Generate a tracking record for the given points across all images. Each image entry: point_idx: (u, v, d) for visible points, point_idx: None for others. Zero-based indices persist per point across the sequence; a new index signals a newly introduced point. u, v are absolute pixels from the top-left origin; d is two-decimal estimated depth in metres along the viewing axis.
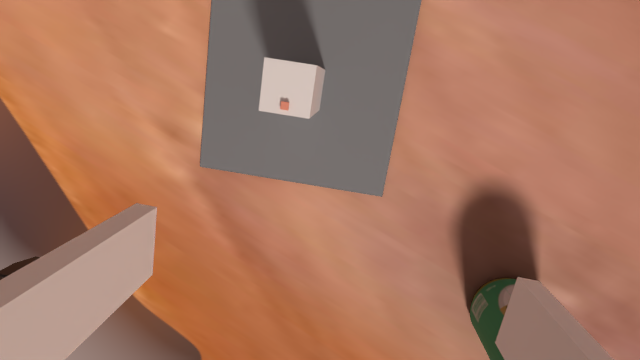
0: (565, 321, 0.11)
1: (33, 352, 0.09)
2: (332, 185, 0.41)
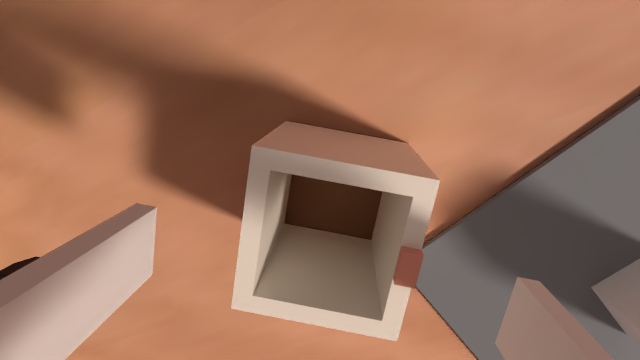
0: (565, 321, 0.11)
1: (33, 352, 0.09)
2: None
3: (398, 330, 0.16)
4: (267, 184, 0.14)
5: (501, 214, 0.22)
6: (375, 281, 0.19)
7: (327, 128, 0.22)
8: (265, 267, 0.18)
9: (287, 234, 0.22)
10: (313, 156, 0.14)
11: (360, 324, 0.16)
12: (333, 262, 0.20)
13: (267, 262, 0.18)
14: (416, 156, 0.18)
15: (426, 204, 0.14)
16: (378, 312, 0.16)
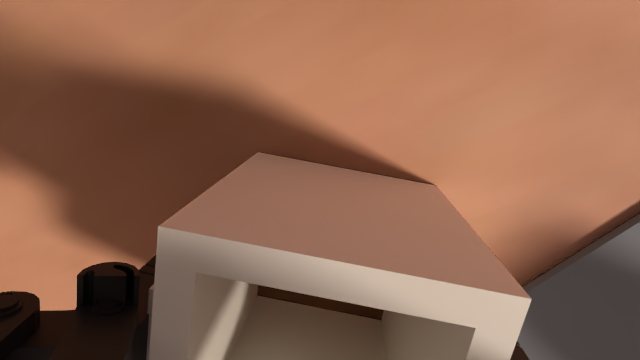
0: None
1: None
2: None
3: None
4: (192, 297, 0.08)
5: (573, 290, 0.15)
6: None
7: (317, 163, 0.15)
8: None
9: (259, 318, 0.15)
10: (279, 247, 0.07)
11: None
12: None
13: None
14: (459, 219, 0.11)
15: (501, 342, 0.07)
16: None
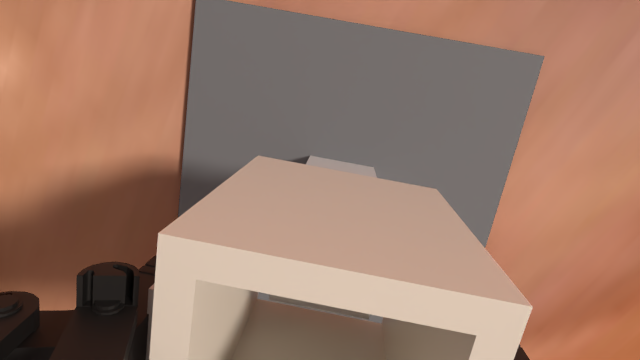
0: None
1: None
2: (509, 149, 0.23)
3: None
4: (192, 304, 0.07)
5: None
6: None
7: (318, 167, 0.15)
8: None
9: (259, 321, 0.15)
10: (279, 254, 0.07)
11: None
12: None
13: None
14: (460, 223, 0.11)
15: (502, 349, 0.07)
16: None
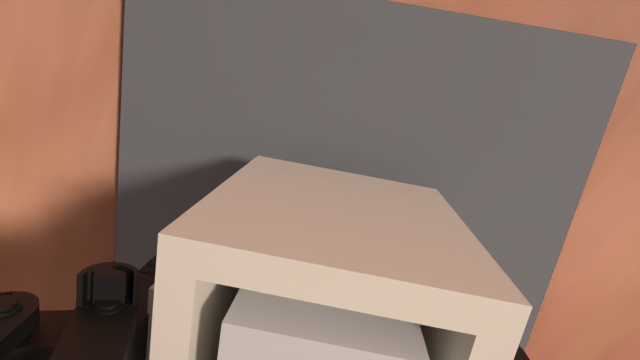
0: None
1: None
2: (579, 178, 0.16)
3: None
4: (192, 304, 0.07)
5: (134, 265, 0.18)
6: None
7: None
8: None
9: None
10: (280, 254, 0.07)
11: None
12: None
13: None
14: (460, 223, 0.11)
15: (502, 349, 0.07)
16: None
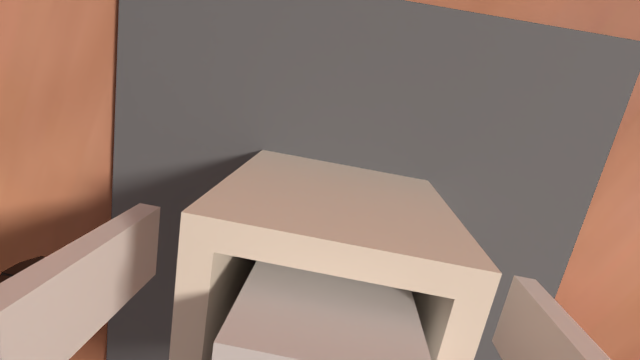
0: (560, 319, 0.11)
1: (39, 351, 0.09)
2: (589, 182, 0.15)
3: None
4: (210, 274, 0.09)
5: None
6: None
7: (318, 160, 0.16)
8: None
9: None
10: (285, 230, 0.08)
11: None
12: None
13: None
14: (446, 209, 0.12)
15: (477, 311, 0.08)
16: None
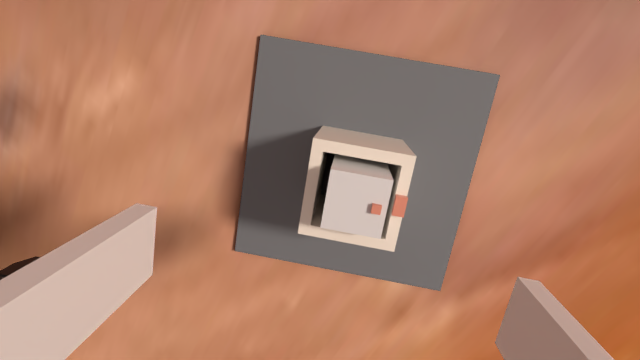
0: (565, 321, 0.11)
1: (33, 352, 0.09)
2: (478, 139, 0.33)
3: (394, 245, 0.27)
4: (321, 159, 0.26)
5: (252, 189, 0.35)
6: None
7: (349, 130, 0.33)
8: (314, 214, 0.30)
9: (323, 199, 0.34)
10: (346, 143, 0.26)
11: (372, 241, 0.27)
12: None
13: (314, 212, 0.30)
14: (406, 146, 0.29)
15: (409, 170, 0.26)
16: (383, 236, 0.28)
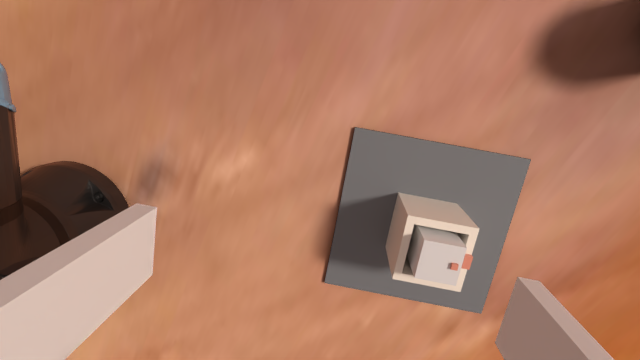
0: (565, 321, 0.11)
1: (33, 352, 0.09)
2: (513, 204, 0.44)
3: (461, 287, 0.39)
4: (412, 229, 0.38)
5: (341, 237, 0.47)
6: None
7: (418, 196, 0.45)
8: None
9: None
10: (431, 219, 0.37)
11: (445, 285, 0.39)
12: None
13: None
14: (465, 214, 0.41)
15: (474, 237, 0.37)
16: None
